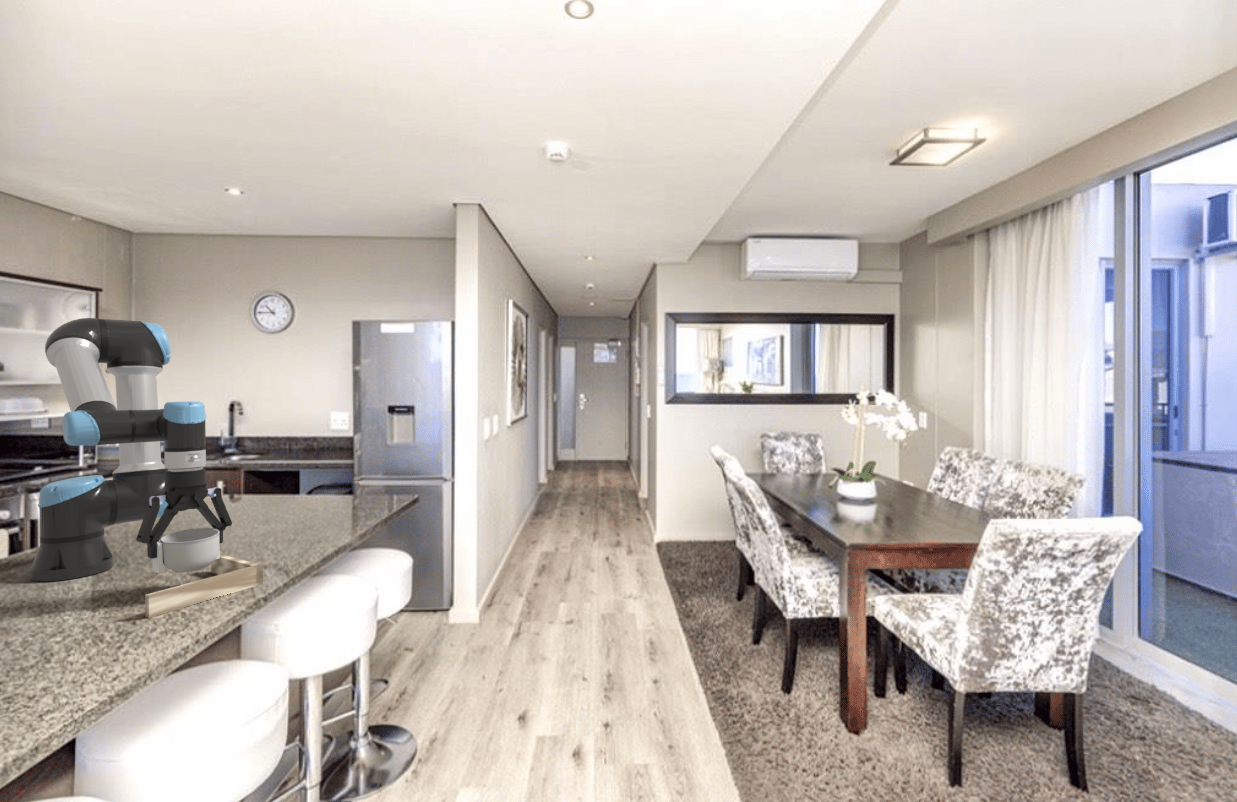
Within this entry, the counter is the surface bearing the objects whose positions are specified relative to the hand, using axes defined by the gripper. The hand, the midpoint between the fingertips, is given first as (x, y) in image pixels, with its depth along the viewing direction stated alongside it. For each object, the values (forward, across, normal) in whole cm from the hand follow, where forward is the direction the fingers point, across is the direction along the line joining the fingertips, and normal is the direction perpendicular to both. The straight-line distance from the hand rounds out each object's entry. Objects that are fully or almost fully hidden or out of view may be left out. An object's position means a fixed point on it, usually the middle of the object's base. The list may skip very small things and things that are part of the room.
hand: (187, 564), depth 130 cm
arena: (+6, -1, -1) cm, 6 cm away
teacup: (+1, 0, 0) cm, 1 cm away
